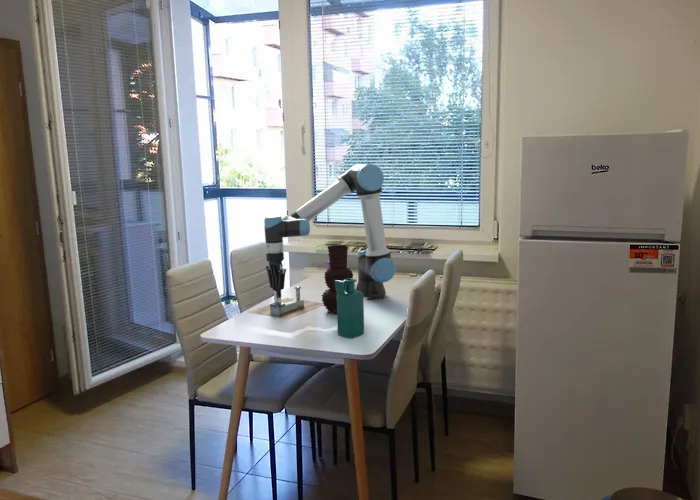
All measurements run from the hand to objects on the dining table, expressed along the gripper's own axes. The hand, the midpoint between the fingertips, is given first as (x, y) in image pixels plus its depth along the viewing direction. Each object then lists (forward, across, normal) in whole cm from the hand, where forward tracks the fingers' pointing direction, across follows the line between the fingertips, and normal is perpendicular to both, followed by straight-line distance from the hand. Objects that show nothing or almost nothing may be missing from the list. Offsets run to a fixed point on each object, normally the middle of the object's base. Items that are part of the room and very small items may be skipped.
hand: (278, 304), depth 246 cm
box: (+5, -29, +57) cm, 64 cm away
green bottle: (+5, +45, +3) cm, 45 cm away
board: (+4, 0, +5) cm, 7 cm away
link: (+3, +3, +3) cm, 5 cm away
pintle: (-1, +2, +9) cm, 10 cm away
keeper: (+3, +7, -4) cm, 8 cm away
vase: (+5, +20, +18) cm, 28 cm away
